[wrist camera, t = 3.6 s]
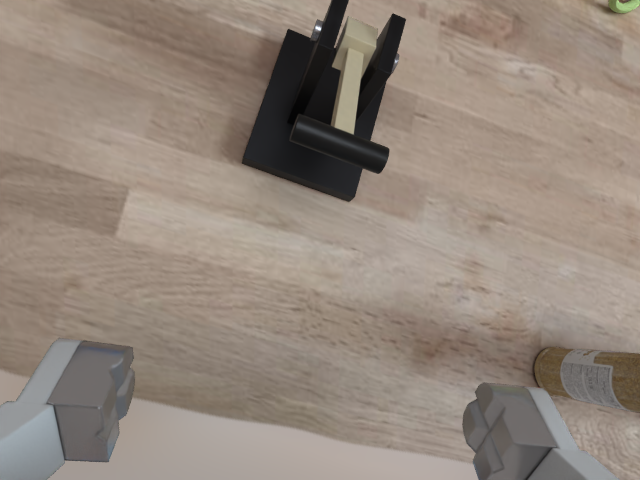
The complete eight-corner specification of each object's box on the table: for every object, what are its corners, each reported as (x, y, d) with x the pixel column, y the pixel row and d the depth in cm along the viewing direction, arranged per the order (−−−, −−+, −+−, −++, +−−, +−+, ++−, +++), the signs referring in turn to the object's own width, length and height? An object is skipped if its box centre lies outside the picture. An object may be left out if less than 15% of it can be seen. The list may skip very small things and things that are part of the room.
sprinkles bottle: (571, 347, 43) (726, 355, 30) (574, 397, 42) (735, 427, 29) (530, 345, 42) (672, 353, 29) (532, 396, 41) (680, 428, 28)
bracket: (349, 201, 40) (411, 148, 28) (241, 163, 39) (258, 88, 26) (383, 79, 44) (452, -17, 31) (285, 38, 42) (318, -81, 30)
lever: (373, 185, 24) (393, 152, 22) (284, 153, 23) (298, 115, 21) (381, 67, 33) (396, 36, 31) (317, 40, 32) (329, 7, 30)
